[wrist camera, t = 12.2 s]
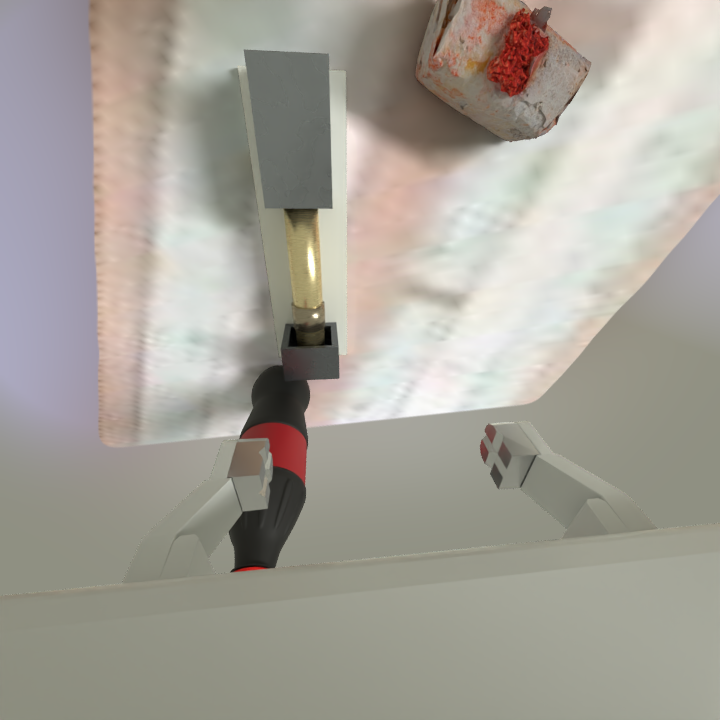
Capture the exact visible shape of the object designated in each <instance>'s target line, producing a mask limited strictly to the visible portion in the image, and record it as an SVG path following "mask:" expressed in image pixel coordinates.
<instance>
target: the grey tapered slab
mask: <svg viewBox="0 0 720 720" xmlns="http://www.w3.org/2000/svg"><path fill="white" fill-rule="evenodd" d="M244 54H245V62H246V69H247V77H248V84H249V92H250V100H251V107H252V115H253V122H254V130H255V137H256V145H257V153H258V160H259V168H260V175H261V183H262V190H263V198H264V206H265V208H288V209H333V203H332V164H331V124H330V85H329V54H320V53H300V52H280V51H260V50H244Z"/></svg>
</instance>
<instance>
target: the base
mask: <svg viewBox="0 0 720 720" xmlns="http://www.w3.org/2000/svg"><path fill="white" fill-rule="evenodd" d="M237 67H238V74H239V81H240V88H241V95H242V102H243V109H244V116H245V123H246V130H247V137H248V144H249V151H250V158H251V165H252V172H253V179H254V186H255V193H256V200H257V207H258V214H259V221H260V228H261V235H262V242H263V248H264V255H265V262H266V269H267V276H268V283H269V290H270V297H271V304H272V311H273V318H274V325H275V332H276V339H277V346H278V353H279V358H281V357H282V356H281V344H282V339H283V334H284V329H285V324H293V315H292V305H291V304H292V302H293V299H292V289H291V279H290V269H289V260H288V250H287V240H286V231H285V221H284V211H283V208H265V206H264V198H263V190H262V183H261V175H260V168H259V160H258V153H257V145H256V137H255V130H254V122H253V115H252V107H251V100H250V92H249V84H248V77H247V69H246V66H237ZM329 85H330V124H331V164H332V203H333V209H318V211H319V232H320V253H321V274H322V295H323V301H324V303H325V323H327V322H336V324H337V335H338V345H339V355H347V153H346V71H343V70H329Z"/></svg>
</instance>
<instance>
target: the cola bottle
mask: <svg viewBox="0 0 720 720" xmlns="http://www.w3.org/2000/svg"><path fill="white" fill-rule="evenodd" d="M309 401H310V390H309V386H308V383H307V381H306V380H296V381H285V378H284V371H283V366H276V367H272V368H270V369H268V370H266V371H264V372H263V373H262V374H261V375H260V376H259V378H258V379H257V380H256V382H255V384H254V386H253V389H252V404H253V410H252V412H251V414H250V416H249V418H248V420H247V422H246V424H245V426H244V428H243V430H242V432H241V435H240V438H239V439H255V438H268V439H269V443H270V448H269V452H270V453H272V458H273V474H272V480H271V481H270V483H269V488H270V496H269V502H268V509H261V510H252V511H243V512H242V514H241V516H240V517H239V518H238V520H237V521H236V522H235V524H234V525H233V526H232V528H231V529H230V530H229V535H230V539H231V542H232V544H233V546H234V551H235V568H234V569H233V570H232V571H231V572H240V571H250V570H260V569H270V568H275V566H276V563H277V560H278V556H279V553H280V551H281V549H282V547H283V545H284V543H285V542H286V540H287V538H288V536H289V535H290V533H291V531H292V529H293V527H294V525H295V523H296V521H297V519H298V517H299V515H300V512H301V510H302V508H303V505H304V503H305V499H306V488H305V474H306V451H307V446H308V436H307V429H306V423H305V417H304V412H305V411H306V409H307V407H308V404H309ZM231 572H230V573H231Z"/></svg>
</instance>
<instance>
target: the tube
mask: <svg viewBox="0 0 720 720" xmlns="http://www.w3.org/2000/svg"><path fill="white" fill-rule="evenodd" d="M283 211H284V221H285V231H286V240H287V250H288V260H289V269H290V279H291V289H292V299H293V302H292V304H291V305H292V315H293V324H294V328H295V329H296V337H297V347H299V346H325V337H324V327H325V303H324V301H323V295H322V274H321V253H320V232H319V211H318V209H288V208H283Z"/></svg>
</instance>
